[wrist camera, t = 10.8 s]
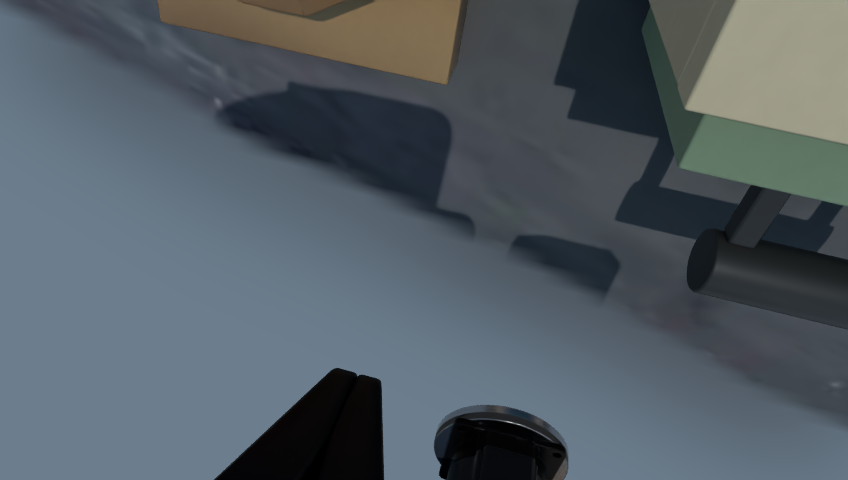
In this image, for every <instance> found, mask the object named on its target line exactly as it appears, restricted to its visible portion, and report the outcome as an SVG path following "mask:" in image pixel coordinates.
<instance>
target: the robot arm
mask: <svg viewBox="0 0 848 480" xmlns="http://www.w3.org/2000/svg"><path fill="white" fill-rule="evenodd" d="M565 458H566V448H565V447H564V446H562V445H560V444H557V443H553V442H549V441H546V440H542V439H538V438H535V437H531V436H527V435H524V434H520V433H516V432H513V431H509V430H505V429H502V428H498V427H494V426H491V425H487V424H483V423H480V422H476V421H472V420H469V419H465V418H457V419H455V420H454V423H453V427H452V430H451V433H450V437H449V440H448V443H447V446H446V450H445V453H444V456H443V460H442V463H441V467H440V471H439V476H440V477H441V478H442V479H445V480H553V479H554V477H555V475H556V473H557V472H558V470H559V468H560V466H561V465H562V463H563V461H564V460H565ZM214 480H384V463H383V423H382V387H381V381H380V380H379V379H377V378H373V377H369V376H366V375H359V376H358V377H357V374H356V373H354V372H350V371H347V370H343V369H340V368H335V369H333V370H331V371H330V372H329V373H328V374H327V375H326V376H325V377H324V378H323V379H321V380H320V381H319V382H318V383H317V384H316V385H315V386H314V387H313V388H312V389H311V390H310V391H309V392H308V393H306V395H304V396H303V397H302V398H301V399H300V400H299V401H298V402H297V403H296V404H295V405H294V406H292V407H291V409H289V410H288V411H287V412H286V413H285V414H284V415H283V416H282V417H281V418H280V419H279V420H277V421H276V422H275V423H274V424H273V425H272V426H271V427H270V428H269V429H268V430H267V431H266V432H265V433H264V434H262V435H261V436H260V437H259V438H258V439H257V440H256V441H255V442H254V443H253V444H252V445H251V446H250V447H249V448H247V449H246V450H245V451H244V452H243V453H242V454H241V455H240V456H239V457H238V458H237V459H236V460H235V461H234V462H232V463H231V465H229V466H228V467H227V468H226V469H225V470H224V471H223V472H222V473H221V474H220V475H219V476H217V477H216V478H215V479H214Z"/></svg>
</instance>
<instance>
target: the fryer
mask: <svg viewBox="0 0 848 480" xmlns="http://www.w3.org/2000/svg"><path fill="white" fill-rule="evenodd" d="M649 3H650V6H651V9H652V12H653V15H654V18H655V21H656V24H657V26H658V29H659V32H660V35H661V38H662V41H663V44H664V47H665V50H666V53H667V56H668V59H669V62H670V65H671V67H672V70H673V73H674V76H675V79H676V82H677V85H678V91H679V94H680V97H681V100H682V103H683V106H684V109H686V110H688V111H693V112H697V113H702V114H706V115H711V116H716V117H720V118H725V119H729V120H734V121H739V122H743V123H748V124H753V125H757V126H762V127H766V128H771V129H776V130H780V131H785V132H789V133H794V134H799V135H803V136H808V137H813V138H817V139H822V140H826V141H831V142H836V143H840V144H845V145H848V0H649Z"/></svg>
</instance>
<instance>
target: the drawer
mask: <svg viewBox="0 0 848 480" xmlns="http://www.w3.org/2000/svg"><path fill="white" fill-rule="evenodd" d="M642 34H643V38H644V42H645V45H646V49H647V53H648V57H649V60H650V64H651V68H652V72H653V75H654V79H655V83H656V87H657V90H658V94H659V98H660V102H661V105H662V109H663V113H664V117H665V120H666V124H667V128H668V132H669V136H670V139H671V143H672V147H673V151H674V154H675V158H676V162H677V166H678V168H680V169H684V170H688V171H693V172H697V173H701V174H706V175H710V176H715V177H719V178H724V179H728V180H732V181H737V182H741V183H746V184H750V185H751V186H750V188H749V189H748V191H747V193H746V194H745V196H744V197H743V199H742V201H741V202H740V204H739V205H738V207H737V209H736V210H735V212H734V214H733V215H732V217H731V218H730V220H729V222H728V223H727V225H726V226H725V229H724V230H725V231H723V230H718V229H714V228H710V229H706V230H705V231H703V232H702V233H701V234H700V236H699V237H698V239H697V240H696V242H695V244H694V246H693V248H692V251H691V254H690V257H689V261H688V266H687V282H688V286H689V288H690V289H691V290H692V291H693V292H696V293H700V294H704V295H708V296H712V297H717V298H721V299H725V300H729V301H733V302H737V303H741V304H745V305H749V306H753V307H758V308H762V309H766V310H770V311H774V312H778V313H782V314H786V315H790V316H794V317H798V318H803V319H807V320H811V321H815V322H819V323H823V324H827V325H831V326H835V327H839V328H844V329H848V260H847V259H842V258H838V257H834V256H829V255H825V254H821V253H817V252H812V251H808V250H804V249H800V248H795V247H791V246H787V245H782V244H778V243H774V242H770V241H765V240H761V238H762V236H763V235H764V233H765V232H766V230H767V229H768V227H769V226H770V224H771V223H772V221H773V220H774V219H775V217H776V216H777V214H778V213H779V211H780V210H781V208H782V207H783V205H784V204H785V202H786V201H787V200H788V198H789V197H790V195H791V194H794V195H799V196H803V197H808V198H812V199H816V200H821V201H825V202H830V203H834V204H839V205H843V206H847V207H848V145H845V144H840V143H836V142H831V141H826V140H822V139H817V138H813V137H808V136H803V135H799V134H794V133H789V132H785V131H780V130H776V129H771V128H766V127H762V126H757V125H753V124H748V123H743V122H739V121H734V120H729V119H725V118H720V117H716V116H711V115H706V114H702V113H697V112H693V111H688V110H686V109H684V106H683V103H682V100H681V97H680V94H679V91H678V85H677V82H676V79H675V76H674V73H673V70H672V67H671V65H670V62H669V59H668V56H667V53H666V50H665V47H664V44H663V41H662V38H661V35H660V32H659V29H658V26H657V24H656V21H655V18H654V15H653V12H652V9H651V6H650V8H649V11H648V13H647V16H646V19H645V21H644V24H643V27H642Z"/></svg>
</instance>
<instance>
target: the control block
mask: <svg viewBox="0 0 848 480" xmlns="http://www.w3.org/2000/svg"><path fill="white" fill-rule="evenodd" d="M157 1H158V7H159V13H160V19H161V22H163V23H168V24H172V25H177V26H181V27H186V28H191V29H195V30H200V31H204V32H209V33H213V34H218V35H222V36H227V37H231V38H236V39H240V40H245V41H249V42H254V43H258V44H263V45H267V46H272V47H276V48H281V49H286V50H290V51H295V52H299V53H304V54H308V55H313V56H317V57H322V58H326V59H331V60H335V61H340V62H344V63H349V64H353V65H358V66H362V67H367V68H372V69H376V70H381V71H385V72H390V73H394V74H399V75H403V76H408V77H412V78H417V79H421V80H426V81H430V82H435V83H439V84H444V85H447V84H448V82H449V80H450V77H451V75H452V73H453V71H454V69H455V67H456V65H457V61H458V55H459V49H460V44H461V38H462V32H463V27H464V21H465V15H466V10H467V4H468V0H157Z"/></svg>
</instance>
